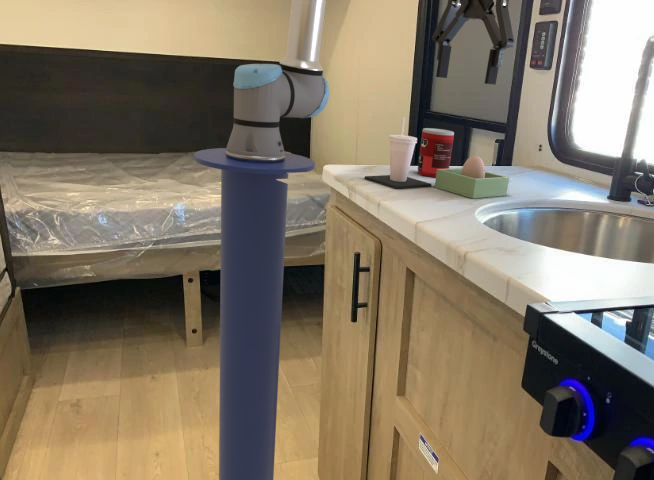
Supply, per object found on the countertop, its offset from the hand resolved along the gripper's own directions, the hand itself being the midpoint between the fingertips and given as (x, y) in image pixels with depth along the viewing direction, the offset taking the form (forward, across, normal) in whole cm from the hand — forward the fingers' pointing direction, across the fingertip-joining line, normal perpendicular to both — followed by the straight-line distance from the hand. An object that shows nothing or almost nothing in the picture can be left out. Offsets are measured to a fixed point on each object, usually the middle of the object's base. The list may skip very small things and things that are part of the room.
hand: (464, 80), depth 127 cm
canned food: (+24, +15, -11) cm, 30 cm away
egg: (+23, -3, -4) cm, 23 cm away
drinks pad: (+23, +9, +7) cm, 26 cm away
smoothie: (+23, +9, +7) cm, 26 cm away
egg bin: (+23, -3, -4) cm, 24 cm away
